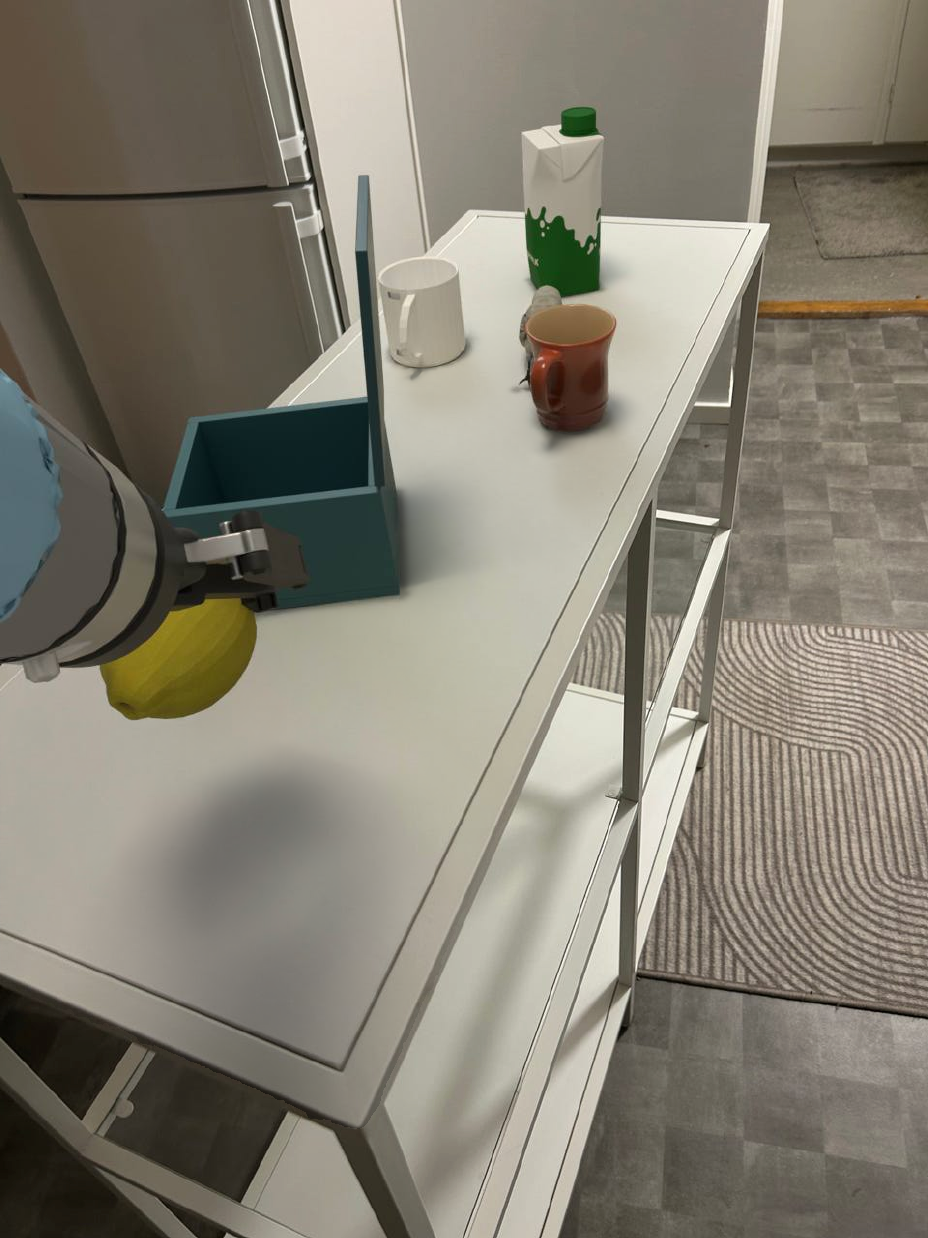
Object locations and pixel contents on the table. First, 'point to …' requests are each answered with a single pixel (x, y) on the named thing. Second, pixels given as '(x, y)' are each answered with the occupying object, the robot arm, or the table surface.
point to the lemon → (184, 662)
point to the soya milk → (564, 202)
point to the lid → (370, 327)
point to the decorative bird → (541, 301)
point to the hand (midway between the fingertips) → (181, 606)
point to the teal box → (297, 492)
